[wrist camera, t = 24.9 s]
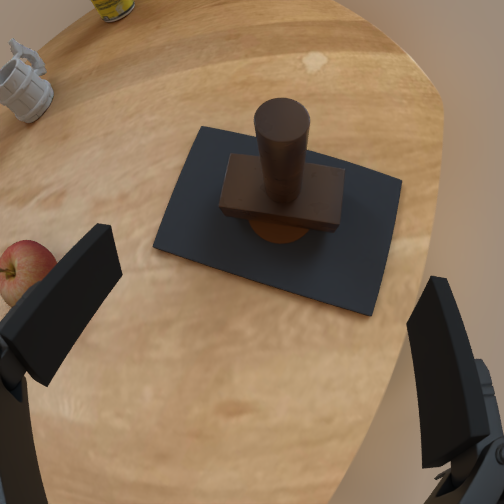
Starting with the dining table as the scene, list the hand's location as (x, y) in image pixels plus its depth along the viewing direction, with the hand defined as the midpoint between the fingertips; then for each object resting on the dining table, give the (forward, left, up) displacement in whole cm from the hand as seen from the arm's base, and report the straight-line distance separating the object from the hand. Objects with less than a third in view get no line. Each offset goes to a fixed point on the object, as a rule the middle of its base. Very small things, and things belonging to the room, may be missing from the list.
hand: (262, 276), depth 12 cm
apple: (+26, +8, -17) cm, 32 cm away
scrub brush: (+2, -8, -16) cm, 18 cm away
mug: (+45, -18, -17) cm, 51 cm away
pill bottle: (+40, -37, -17) cm, 57 cm away
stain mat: (+2, -7, -17) cm, 18 cm away
